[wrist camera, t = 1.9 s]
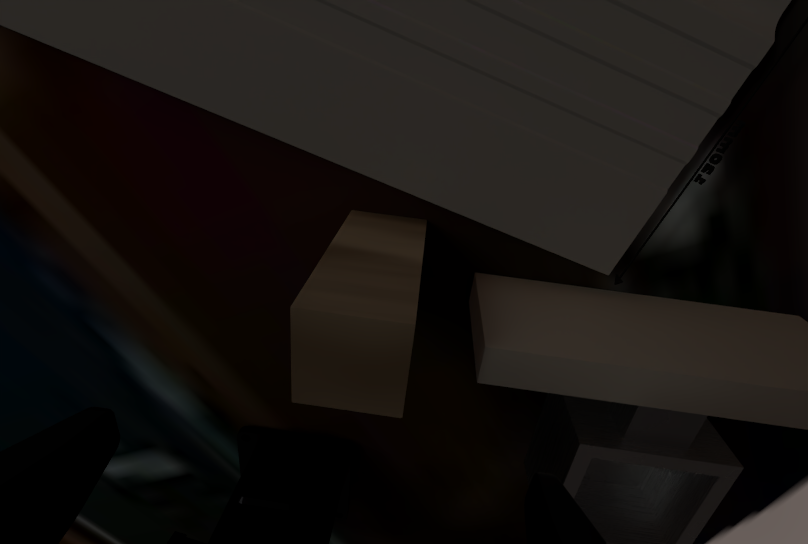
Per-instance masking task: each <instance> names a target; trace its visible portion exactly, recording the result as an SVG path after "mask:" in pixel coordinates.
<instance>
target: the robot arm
mask: <svg viewBox="0 0 808 544" xmlns="http://www.w3.org/2000/svg"><path fill="white" fill-rule="evenodd" d="M119 441H120V434H119V430H118V426H117V422H116V418H115V415H114V412H113V411H112V410H111V409H107V408H100V407H90V408H87V409H85V410H83V411H81V412H79V413H77V414H75V415H73V416H71V417H69V418H67V419H65V420H63V421H61V422H59V423H57V424H55V425H53V426H51V427H49V428H47V429H45V430H43V431H41V432H39V433H37V434H35V435H33V436H31V437H29V438H27V439H25V440H23V441H21V442H19V443H17V444H15V445H13V446H11V447H9V448H7V449H5V450H3V451H1V452H0V544H59V542H60V541H61V539H62V538H63V536H64V535H65V534H66V532H67V531H68V529H69V528H70V526H71V525H72V523H73V522H74V520H75V519H76V517H77V516H78V514H79V512H80V511H81V509H82V508H83V506H84V504H85V503H86V501H87V499H88V497H89V496H90V494H91V492H92V491H93V489H94V487H95V485H96V484H97V482H98V480H99V479H100V477H101V475H102V473H103V472H104V470H105V468H106V467H107V465H108V463H109V461H110V460H111V458H112V456H113V455H114V453H115V451H116V449H117V447H118V445H119ZM237 441H238V452H239V462H240V473H241V477H240V479H239V481H238V483H237V485H236V487H235V489H234V491H233V493H232V495H231V497H230V499H229V502H228V504H227V506H226V508H225V510H224V512H223V514H222V516H221V518H220V520H219V522H218V524H217V526H216V528H215V530H214V532H213V534H212V536H211V538H210V540H209V542H208V544H329V541H330V537H331V533H332V529H333V524H334V520H345V519H346V518H347V515H348V510H349V497H350V484H351V471H352V458H353V445H352V444H351V443H350V442H348V441H345V440H338V439H332V438H325V437H318V436H311V435H305V434H298V433H291V432H284V431H277V430H271V429H264V428H257V427H250V426H244V427H242V428H241V429H240V431H239V433H238V434H237ZM343 449H344V450H343ZM524 508H525V522H526V536H527V544H607V543H606V542H605V540H604V539H603V538H602V536H601V535H600V533H599V532H598V531H597V529H596V528H595V527H594V525H593V524H592V523H591V521H590V520H589V519H588V517H587V516H586V515H585V513H584V512H583V511H582V509H581V508H580V507H579V505H578V504H577V503H576V501H575V500H574V499H573V497H572V496H571V495H570V493H569V492H568V491H567V489H566V488H565V487H564V485H563V484H562V482H561V481H560V480H559V479H558V477H557V476H555V475H553V474H549V473H542V472H536V473H535V474H534V475H533V478H532V480H531V483H530V486H529V489H528V491H527V494H526V497H525V507H524ZM186 536H187V535H186V534H182V533H179V532H176V531H175V532H174V533H173V535H172V536H171V538H170V539H169V541H168V542H167V544H206V543H203V542H200V541H197V540H194V539H190V538H187V537H186Z"/></svg>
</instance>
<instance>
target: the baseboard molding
mask: <svg viewBox="0 0 808 544" xmlns="http://www.w3.org/2000/svg"><path fill="white" fill-rule="evenodd" d="M790 2H791V0H0V25H2V26H4V27H7V28H9V29H11V30H14V31H16V32H19V33H21V34H24V35H26V36H28V37H31V38H33V39H36V40H38V41H41V42H43V43H45V44H48V45H50V46H53V47H55V48H58V49H60V50H62V51H65V52H67V53H70V54H72V55H74V56H77V57H79V58H82V59H84V60H87V61H89V62H91V63H94V64H96V65H99V66H101V67H104V68H106V69H108V70H111V71H113V72H116V73H118V74H121V75H123V76H125V77H128V78H130V79H133V80H135V81H138V82H140V83H142V84H145V85H147V86H150V87H152V88H155V89H157V90H159V91H162V92H164V93H167V94H169V95H172V96H174V97H176V98H179V99H181V100H184V101H186V102H189V103H191V104H193V105H196V106H198V107H201V108H203V109H206V110H208V111H210V112H213V113H215V114H218V115H220V116H223V117H225V118H227V119H230V120H232V121H235V122H237V123H240V124H242V125H244V126H247V127H249V128H252V129H254V130H257V131H259V132H261V133H264V134H266V135H269V136H271V137H274V138H276V139H278V140H281V141H283V142H286V143H288V144H291V145H293V146H295V147H298V148H300V149H303V150H305V151H307V152H310V153H312V154H315V155H317V156H320V157H322V158H324V159H327V160H329V161H332V162H334V163H337V164H339V165H341V166H344V167H346V168H349V169H351V170H354V171H356V172H358V173H361V174H363V175H366V176H368V177H371V178H373V179H375V180H378V181H380V182H383V183H385V184H388V185H390V186H392V187H395V188H397V189H400V190H402V191H405V192H407V193H409V194H412V195H414V196H417V197H419V198H422V199H424V200H426V201H429V202H431V203H434V204H436V205H439V206H441V207H443V208H446V209H448V210H451V211H453V212H456V213H458V214H460V215H463V216H465V217H468V218H470V219H473V220H475V221H477V222H480V223H482V224H485V225H487V226H490V227H492V228H494V229H497V230H499V231H502V232H504V233H507V234H509V235H511V236H514V237H516V238H519V239H521V240H523V241H526V242H528V243H531V244H533V245H536V246H538V247H540V248H543V249H545V250H548V251H550V252H553V253H555V254H557V255H560V256H562V257H565V258H567V259H570V260H572V261H574V262H577V263H579V264H582V265H584V266H587V267H589V268H591V269H594V270H596V271H599V272H601V273H604V274H606V275H609V274H610V273H611V271H612V270H613V268H614V267H615V266H616V264H617V263H618V261H619V260H620V258H621V257H622V256H623V254H624V253H625V251H626V250H627V249H628V247H629V246H630V244H631V243H632V242H633V240H634V239H635V237H636V236H637V235H638V233H639V232H640V230H641V229H642V228H643V226H644V225H645V223H646V222H647V220H648V219H649V218H650V216H651V215H652V213H653V212H654V211H655V209H656V208H657V206H658V205H659V204H660V202H661V201H662V199H663V198H664V197H665V195H666V194H667V191H668V189H669V187H670V186H671V184H672V183H673V182H674V180H675V179H676V177H677V176H678V175H679V173H680V172H681V170H682V169H683V167H684V166H685V165H686V164H688V163H689V161H690V160H691V159H692V157H693V156H694V154H695V153H696V151H697V150H698V146H699V145H700V143H701V142H702V141H703V139H704V138H705V136H706V135H707V134H708V132H709V131H710V129H711V128H712V126H713V125H714V124H715V122H716V121H717V119H718V118H719V117H720V116H722V115H723V113H724V112H725V111H726V109H727V108H728V106H729V105H730V104H731V100H732V98H733V97H734V95H735V94H736V93H737V91H738V90H739V88H740V87H741V86H742V84H743V83H744V81H745V80H746V78H747V77H748V76H749V74H750V73H751V71H752V70H753V69H755V68H756V67H757V66H758V64H759V63H760V61H761V60H762V58H763V57H764V56H765V54H766V53H767V51H768V50H769V49H770V47H771V46H772V44H773V43H774V41H775V29H776V25H777V23H778V20H779V18H780V16H781V15H782V13H783V12H784V10H785V9H786V7H787V6H788V5H789V3H790ZM807 22H808V18H807V19H806V20H805V22H804V23H803V24H802V26H801V27H800V29H799V30H798V31H797V33H796V34H795V35H794V37H793V38H792V40H791V41H790V42H789V44H788V45H787V47H786V48H785V49H784V51H783V52H782V53H781V55H780V56H779V58H778V59H777V60H776V62H775V63H774V64H773V66H772V67H771V69H770V70H769V71H768V73H767V74H766V75H765V77H764V78H763V80H762V81H761V82H760V84H759V85H758V87H757V88H756V89H755V91H754V92H753V93H752V95H751V96H750V98H749V99H748V100H747V102H746V103H745V104H744V106H743V107H742V109H741V110H740V111H739V113H738V114H737V115H736V117H735V118H734V120H733V121H732V122H731V124H730V125H729V126H728V128H727V129H726V131H725V132H724V133H723V135H722V136H721V138H720V139H719V140H718V142H717V143H716V144H715V146H714V147H713V149H712V150H711V151H710V153H709V154H708V155H707V157H706V158H705V160H704V161H703V162H702V164H701V165H700V166H699V168H698V169H697V171H696V172H695V173H694V175H693V176H692V178H691V179H690V180H689V182H688V183H687V184H686V186H685V187H684V189H683V190H682V191H681V193H680V194H679V195H678V197H677V198H676V200H675V201H674V202H673V204H672V205H671V206H670V208H669V209H668V211H667V212H666V213H665V215H664V216H663V217H662V219H661V220H660V222H659V223H658V224H657V226H656V227H655V229H654V230H653V231H652V233H651V234H650V235H649V237H648V238H647V240H646V241H645V242H644V244H643V245H642V246H641V248H640V249H639V251H638V252H637V253H636V255H635V256H634V257H633V259H632V260H631V262H630V263H629V264H628V266H627V267H626V269H625V270H624V271H623V273H622V274H621V275H620V277H619V276H618V275H617V274H616V278H615V285H616V284H619V283H622V282H623V281H622V280H621V279H620V278H621V277H622V276H623V274H624V273H625V272H626V270H627V269H628V267H629V266H630V265H631V263H632V262H633V261H634V259H635V258H636V256H637V255H638V254H639V252H640V251H641V250H642V248H643V247H644V245H645V244H646V243H647V241H648V240H649V239H650V237H651V236H652V234H653V233H654V232H655V230H656V229H657V228H658V226H659V225H660V223H661V222H662V221H663V219H664V218H665V217H666V215H667V214H668V212H669V211H670V210H671V208H672V207H673V206H674V204H675V203H676V201H677V200H678V199H679V197H680V196H681V195H682V193H683V192H684V190H685V189H686V188H687V186H688V185H689V184H690V182H691V181H692V180H693V178H694V177H695V175H696V174H697V173H698V171H699V170H700V169H701V167H702V166H703V164H704V163H705V162H706V160H707V159H708V158H709V156H710V155H711V153H712V152H713V151H714V149H715V148H716V147H717V145H718V144H719V142H720V141H721V140H722V138H723V137H724V136H725V134H726V133H727V131H728V130H729V129H730V127H731V126H732V125H733V123H734V122H735V120H736V119H737V118H738V116H739V115H740V114H741V112H742V111H743V109H744V108H745V107H746V105H747V104H748V103H749V101H750V100H751V98H752V97H753V96H754V94H755V93H756V92H757V90H758V89H759V87H760V86H761V85H762V83H763V82H764V81H765V79H766V78H767V76H768V75H769V74H770V72H771V71H772V70H773V68H774V67H775V66H776V64H777V63H778V61H779V60H780V59H781V57H782V56H783V55H784V53H785V52H786V50H787V49H788V48H789V46H790V45H791V44H792V42H793V41H794V39H795V38H796V37H797V35H798V34H799V33H800V31H801V30H802V28H803V27H804V26H805V24H806V23H807ZM736 124H738V125H739V127H735V126H733V128H732V130H735V132H734V133H732V132H729V133H728V135H729V136H732V137H736V136H737V135H738V133H739V132H740V131H741V128H743V127H744V126H745V124H746V123H745V122H743V121H739V120H738V121H737V122H736ZM724 140H725V141H728V142H727V143H726V144H725V143H721V144H720V146H722V147H723V148H722V149H719V148H717V150H716V151H717V152H720V153H723V154H724V152H725V150H727V149H728V147H729V145H730V144H731V143H732V142H733V139H731V138H728V137H725V139H724ZM715 158H717V160H714V159H715ZM721 160H722V156H721V155H720V154H713V155H712V156H711V158H710V159H709V162H710V163H712V164H718V163H719V162H720V161H721ZM714 168H715V167H714V166H712V165H710V164H709V163H706V165H705V166H704V167H703V169H702V170H701V172H703V173H704V172H706V171H708V170H709V171H708V172H707V173H706V174H709V175H710V174H711V173H712V172H713V170H714ZM701 176H702V175H701V174H698V176H697V177H696V178H695V180H694V181H695V182H698V180H699V184H701V185H702V184H703V183H704V182H705V181H706V180H705V179H703V178H701Z"/></svg>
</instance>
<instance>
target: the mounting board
mask: <svg viewBox="0 0 808 544" xmlns="http://www.w3.org/2000/svg"><path fill="white" fill-rule="evenodd" d="M469 307H470V317H471V327H472V337H473V347H474V357H475V367H476V376H477V383H483V384H490V385H497V386H504V387H511V388H518V389H525V390H532V391H539V392H546V393H553V394H560V395H567V396H574V397H581V398H588V399H595V400H602V401H609V402H616V403H623V404H630V405H637V406H644V407H651V408H658V409H665V410H673V411H680V412H687V413H694V414H701V415H708V416H715V417H722V418H729V419H736V420H743V421H750V422H757V423H764V424H771V425H778V426H785V427H792V428H799V429H806V430H808V322H807V321H805V320H804V319H802V318H801V317H800V316H796V315H788V314H781V313H773V312H766V311H758V310H751V309H744V308H736V307H729V306H721V305H714V304H706V303H699V302H691V301H684V300H677V299H669V298H662V297H654V296H647V295H639V294H632V293H625V292H617V291H610V290H602V289H595V288H587V287H580V286H573V285H565V284H558V283H550V282H543V281H535V280H528V279H520V278H513V277H506V276H498V275H491V274H483V273H476V272H475V274H474V279H473V284H472V289H471V294H470V299H469Z"/></svg>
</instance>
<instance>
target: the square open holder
mask: <svg viewBox="0 0 808 544" xmlns="http://www.w3.org/2000/svg"><path fill="white" fill-rule="evenodd" d="M707 416H708V415H701V414H694V413H687V412H680V411H673V410H665V409H658V408H651V407H644V406H637V405H630V404H623V403H616V402H609V401H602V400H595V399H588V398H581V397H574V396H567V395H560V394H553V393H547V395H546V398H545V401H544V404H543V407H542V410H541V413H540V416H539V419H538V422H537V424H536V427H535V430H534V433H533V436H532V439H531V442H530V445H529V448H528V451H527V454H526V457H525V460H524V465H525V470H526V475H527V480H528V485H529V486H530V483H531V480H532V478H533V475H534V474H535V473H536V472H542V473H549V474H553V475H555V476H557V477H558V479H559V480H560V481H561V482H562V484H563V485H564V487H565V488H566V489H567V491H568V492H569V493H570V495H571V496H572V497H573V499H574V500H575V501H576V503H577V504H578V505H579V507H580V508H581V509H582V511H583V512H584V513H585V515H586V516H587V517H588V519H589V520H590V521H591V523H592V524H593V525H594V527H595V528H596V529H597V531H598V532H599V533H600V535H601V536H602V538H603V539H604V540H605V542H606V543H607V544H692V543H693V542H694V540H695V539H696V538H697V536H698V535H699V533H700V532H701V530H702V529H703V527H704V526H705V524H706V523H707V521H708V520H709V518H710V517H711V515H712V514H713V513H714V511H715V510H716V508H717V507H718V505H719V504H720V502H721V501H722V499H723V498H724V496H725V495H726V493H727V492H728V491H729V489H730V488H731V486H732V485H733V483H734V482H735V480H736V479H737V477H738V476H739V474H740V473H741V471H742V470H743V468H744V467H743V466H742V465H741V463H740V462H739V461H738V459H737V458H736V456H735V455H734V454H733V452H732V451H731V450H730V448H729V447H728V446H727V444H726V443H725V442H724V440H723V439H722V438H721V436H720V435H719V434H718V432H717V431H716V429H715V428H714V427H713V425H712V424H711V423H710V421H709V420H708V419H707Z"/></svg>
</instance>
